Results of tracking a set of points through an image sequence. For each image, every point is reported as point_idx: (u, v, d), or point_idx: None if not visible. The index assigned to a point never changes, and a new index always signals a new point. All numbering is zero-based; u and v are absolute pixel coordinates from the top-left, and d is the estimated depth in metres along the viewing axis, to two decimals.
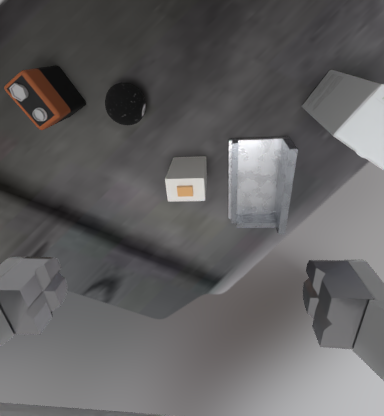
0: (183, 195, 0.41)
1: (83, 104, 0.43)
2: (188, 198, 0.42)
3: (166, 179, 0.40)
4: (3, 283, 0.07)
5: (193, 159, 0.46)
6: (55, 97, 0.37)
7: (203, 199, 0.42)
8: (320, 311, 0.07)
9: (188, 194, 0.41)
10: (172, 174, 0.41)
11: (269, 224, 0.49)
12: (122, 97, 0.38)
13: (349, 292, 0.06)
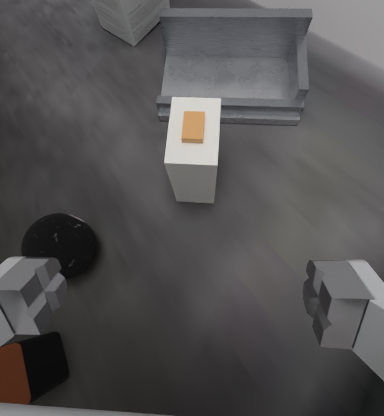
0: (201, 128, 0.20)
1: (52, 333, 0.24)
2: (214, 125, 0.20)
3: (166, 161, 0.20)
4: (3, 283, 0.07)
5: None
6: None
7: (217, 100, 0.21)
8: (320, 311, 0.07)
9: (199, 119, 0.20)
10: None
11: (299, 43, 0.29)
12: (29, 232, 0.22)
13: (349, 292, 0.06)
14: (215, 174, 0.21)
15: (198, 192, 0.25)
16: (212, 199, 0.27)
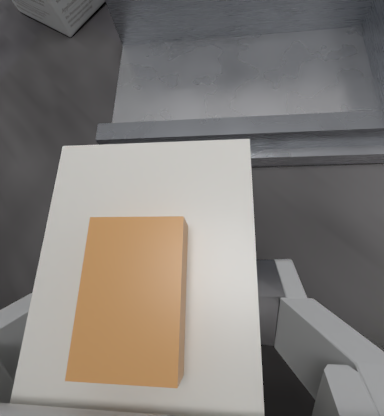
0: (166, 313, 0.04)
1: None
2: (232, 269, 0.04)
3: None
4: None
5: None
6: None
7: (237, 149, 0.05)
8: None
9: (160, 258, 0.04)
10: None
11: None
12: None
13: (264, 290, 0.07)
14: None
15: None
16: None
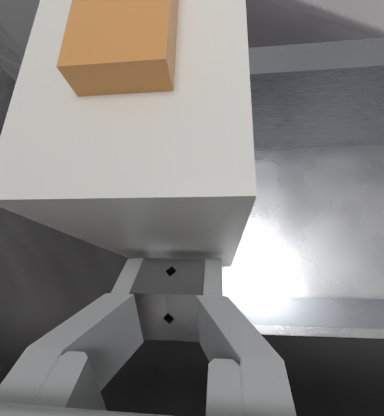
0: (156, 10, 0.04)
1: None
2: (222, 12, 0.05)
3: None
4: (141, 286, 0.07)
5: None
6: None
7: None
8: None
9: None
10: None
11: None
12: None
13: (184, 288, 0.07)
14: (240, 226, 0.05)
15: (188, 256, 0.09)
16: (227, 263, 0.11)
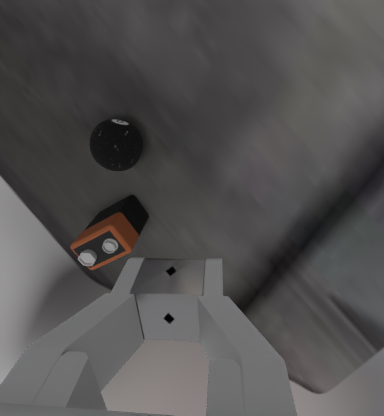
0: None
1: (130, 197, 0.37)
2: None
3: None
4: (142, 286, 0.07)
5: None
6: (101, 224, 0.32)
7: None
8: None
9: None
10: None
11: None
12: (95, 146, 0.29)
13: (185, 288, 0.07)
14: None
15: None
16: None
